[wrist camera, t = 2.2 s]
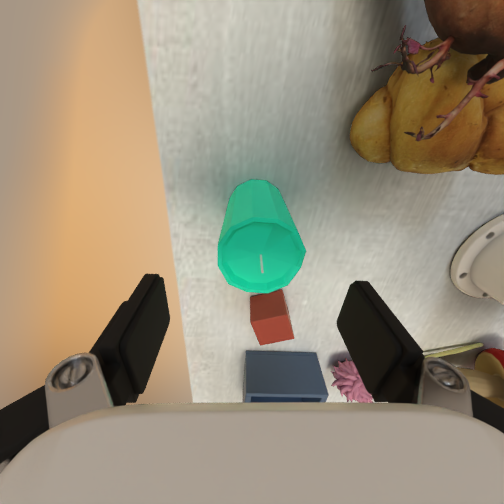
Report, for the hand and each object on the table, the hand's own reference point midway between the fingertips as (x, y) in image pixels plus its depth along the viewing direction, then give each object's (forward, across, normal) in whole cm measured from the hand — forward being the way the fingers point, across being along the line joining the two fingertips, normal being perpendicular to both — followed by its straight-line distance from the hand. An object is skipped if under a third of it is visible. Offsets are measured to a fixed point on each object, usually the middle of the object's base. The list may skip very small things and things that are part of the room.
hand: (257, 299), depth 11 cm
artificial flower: (+14, -27, +24) cm, 38 cm away
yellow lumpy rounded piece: (+14, -14, -10) cm, 22 cm away
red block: (+14, -4, +14) cm, 20 cm away
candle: (+15, -1, 0) cm, 15 cm away
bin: (+14, -7, +30) cm, 34 cm away
